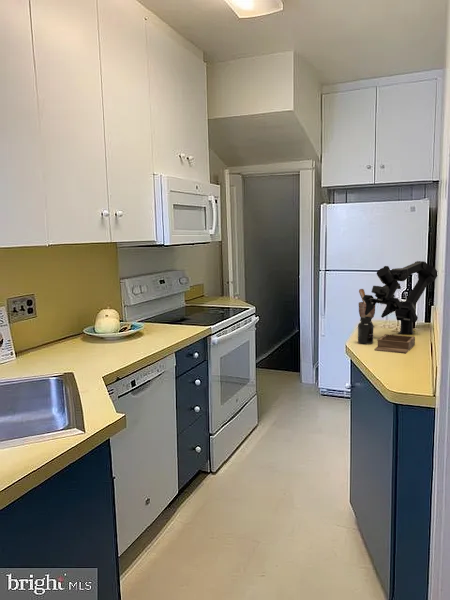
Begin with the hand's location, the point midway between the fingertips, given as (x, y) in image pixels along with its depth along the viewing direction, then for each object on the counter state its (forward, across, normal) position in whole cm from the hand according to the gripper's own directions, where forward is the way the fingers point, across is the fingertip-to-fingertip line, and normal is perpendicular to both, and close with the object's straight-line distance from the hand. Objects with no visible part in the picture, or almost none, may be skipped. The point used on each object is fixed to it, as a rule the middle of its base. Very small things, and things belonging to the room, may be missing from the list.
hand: (373, 315), depth 223 cm
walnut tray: (+11, +14, +6) cm, 19 cm away
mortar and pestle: (-9, -25, +26) cm, 37 cm away
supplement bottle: (+12, 0, +5) cm, 13 cm away
